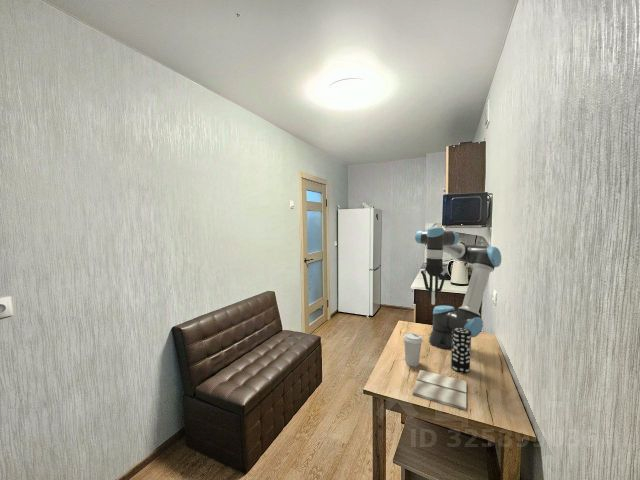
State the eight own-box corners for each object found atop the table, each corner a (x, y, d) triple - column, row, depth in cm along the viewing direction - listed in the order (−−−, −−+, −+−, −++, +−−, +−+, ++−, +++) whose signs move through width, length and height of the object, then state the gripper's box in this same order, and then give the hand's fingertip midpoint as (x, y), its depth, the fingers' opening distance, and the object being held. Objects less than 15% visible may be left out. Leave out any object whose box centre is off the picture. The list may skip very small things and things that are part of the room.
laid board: (466, 395, 114) (466, 393, 114) (466, 410, 105) (466, 407, 105) (416, 382, 123) (416, 379, 123) (412, 394, 114) (412, 392, 114)
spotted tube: (452, 372, 133) (453, 332, 132) (450, 364, 141) (451, 326, 140) (471, 375, 130) (472, 334, 129) (468, 367, 138) (469, 328, 137)
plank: (466, 383, 122) (466, 381, 122) (466, 395, 114) (466, 392, 114) (419, 372, 132) (419, 369, 132) (416, 381, 124) (416, 379, 124)
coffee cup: (423, 369, 135) (424, 340, 134) (403, 367, 137) (404, 338, 136) (420, 360, 144) (421, 332, 144) (401, 358, 146) (402, 331, 145)
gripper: (449, 257, 136) (447, 304, 137) (421, 256, 142) (420, 300, 143) (448, 259, 129) (446, 307, 131) (419, 257, 136) (418, 304, 137)
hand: (433, 303), depth 137 cm, fingers closed
